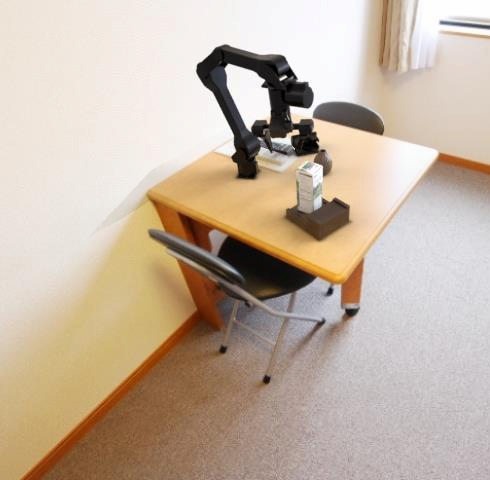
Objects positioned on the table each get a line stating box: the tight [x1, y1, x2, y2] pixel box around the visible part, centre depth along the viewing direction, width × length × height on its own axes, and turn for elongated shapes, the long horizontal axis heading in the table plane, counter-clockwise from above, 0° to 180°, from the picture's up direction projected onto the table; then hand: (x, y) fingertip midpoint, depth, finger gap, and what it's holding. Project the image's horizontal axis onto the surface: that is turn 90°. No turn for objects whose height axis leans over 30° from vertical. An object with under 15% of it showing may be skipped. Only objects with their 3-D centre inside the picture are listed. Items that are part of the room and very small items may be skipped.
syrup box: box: [295, 160, 324, 214], centre depth 103 cm, size 6×6×14 cm
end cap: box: [290, 131, 320, 157], centre depth 139 cm, size 10×7×7 cm
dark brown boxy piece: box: [285, 197, 351, 241], centre depth 106 cm, size 15×12×6 cm
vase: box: [312, 148, 333, 176], centre depth 125 cm, size 7×7×9 cm
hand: (285, 152), depth 113 cm, fingers open, 9 cm apart
